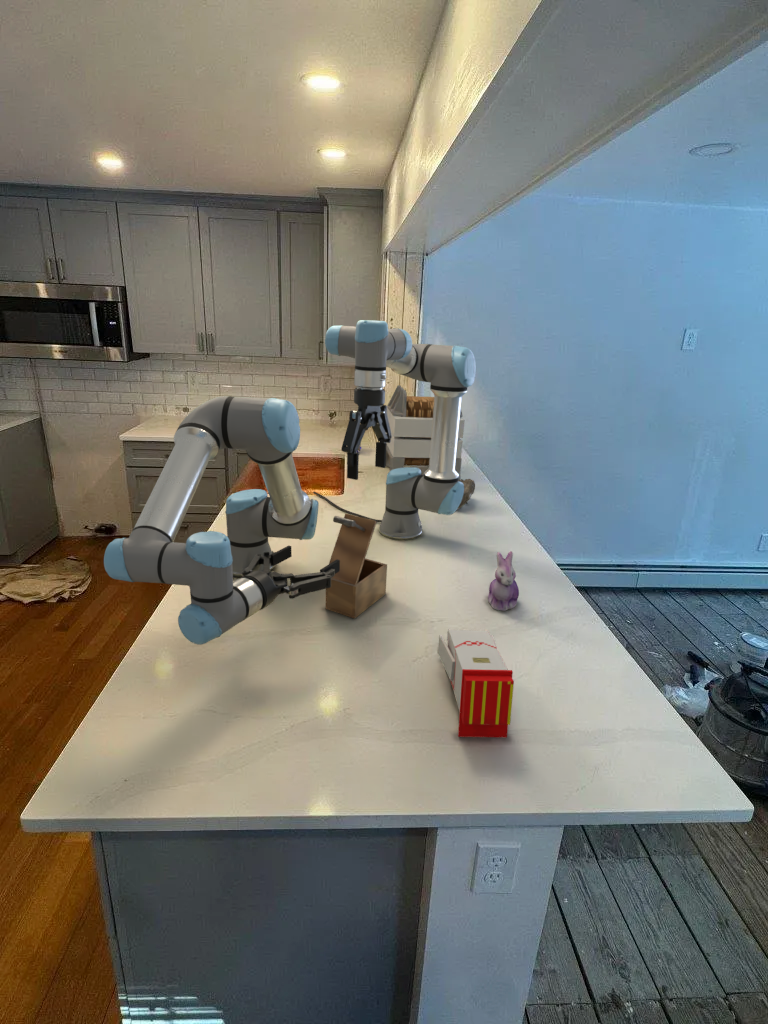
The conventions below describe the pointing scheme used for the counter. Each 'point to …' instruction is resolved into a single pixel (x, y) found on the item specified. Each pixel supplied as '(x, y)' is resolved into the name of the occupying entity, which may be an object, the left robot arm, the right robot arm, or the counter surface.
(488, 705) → the toy
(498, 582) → the figurine
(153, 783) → the counter surface
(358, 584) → the chest
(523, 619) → the counter surface
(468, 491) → the fossil
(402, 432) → the white wooden crate
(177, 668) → the counter surface
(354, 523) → the door
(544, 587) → the counter surface
